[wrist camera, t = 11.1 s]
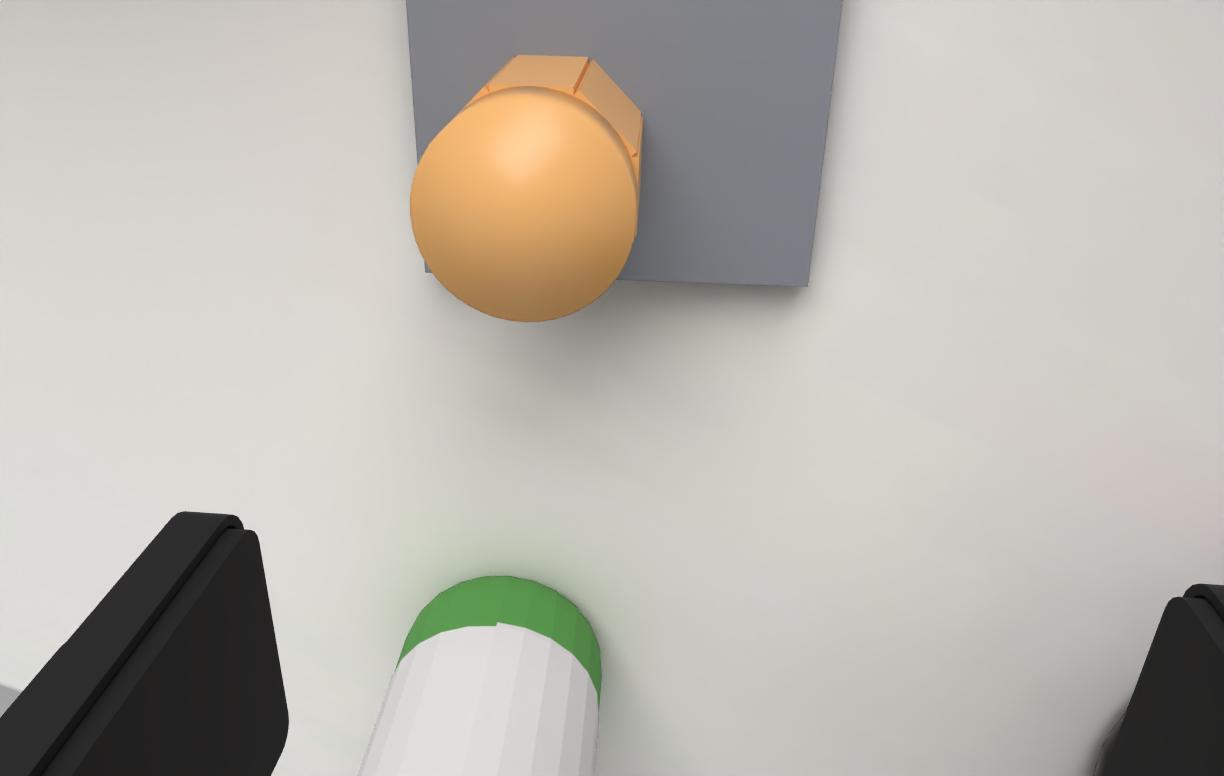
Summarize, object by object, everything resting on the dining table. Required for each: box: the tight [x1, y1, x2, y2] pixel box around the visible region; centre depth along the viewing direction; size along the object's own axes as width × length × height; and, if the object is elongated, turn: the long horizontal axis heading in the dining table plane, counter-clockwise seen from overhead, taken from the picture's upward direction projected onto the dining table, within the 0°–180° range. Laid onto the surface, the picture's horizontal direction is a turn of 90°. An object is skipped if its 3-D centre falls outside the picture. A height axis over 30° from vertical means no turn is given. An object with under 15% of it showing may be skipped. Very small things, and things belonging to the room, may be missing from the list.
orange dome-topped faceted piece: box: [410, 55, 643, 322], centre depth 25 cm, size 5×5×7 cm
